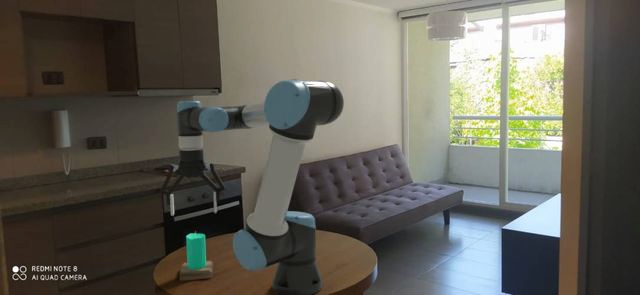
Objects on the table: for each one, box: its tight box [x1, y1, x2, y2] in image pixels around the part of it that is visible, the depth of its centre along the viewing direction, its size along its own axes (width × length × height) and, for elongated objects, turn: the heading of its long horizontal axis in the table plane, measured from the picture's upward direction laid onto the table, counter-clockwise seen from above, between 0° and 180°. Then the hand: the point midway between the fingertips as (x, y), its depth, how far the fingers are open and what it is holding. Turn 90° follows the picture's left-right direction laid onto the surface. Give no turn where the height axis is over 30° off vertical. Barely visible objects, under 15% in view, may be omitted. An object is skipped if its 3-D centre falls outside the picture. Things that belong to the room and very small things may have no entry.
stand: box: [179, 260, 214, 282], centre depth 152 cm, size 10×10×2 cm
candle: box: [185, 230, 207, 270], centre depth 151 cm, size 6×6×12 cm
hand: (194, 213), depth 150 cm, fingers open, 13 cm apart
